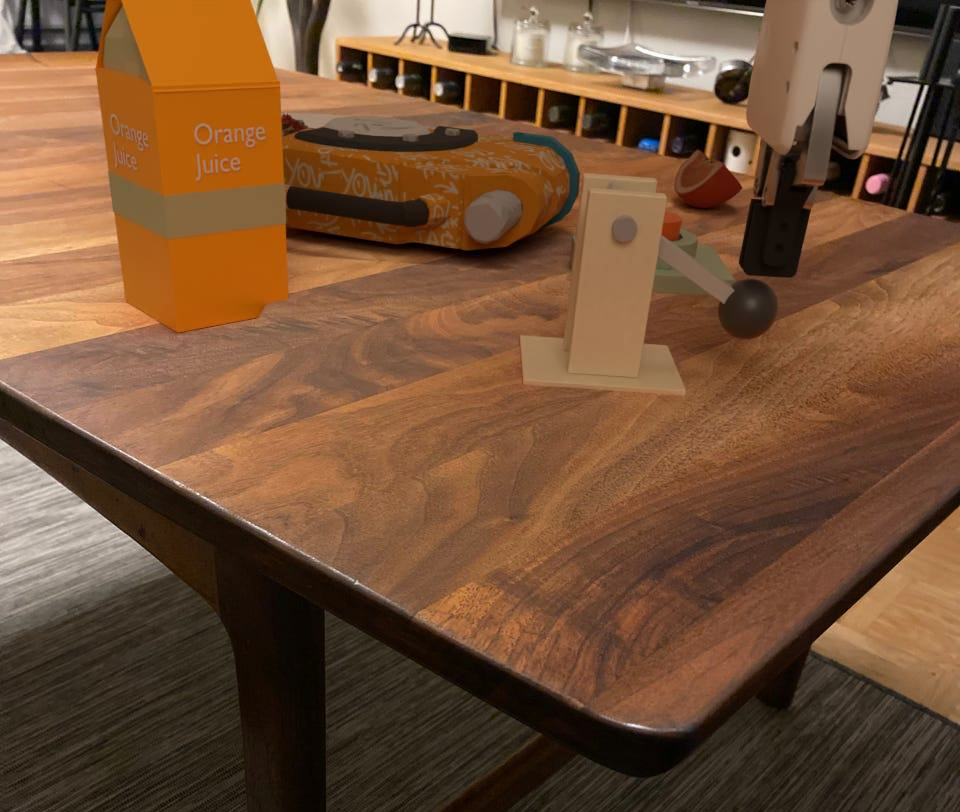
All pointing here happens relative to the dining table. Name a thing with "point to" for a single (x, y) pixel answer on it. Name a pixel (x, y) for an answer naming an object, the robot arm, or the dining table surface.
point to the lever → (726, 292)
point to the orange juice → (194, 159)
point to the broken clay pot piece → (705, 181)
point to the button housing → (675, 281)
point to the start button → (671, 226)
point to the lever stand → (609, 297)
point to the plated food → (304, 121)
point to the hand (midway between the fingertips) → (766, 272)
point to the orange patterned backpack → (425, 183)
